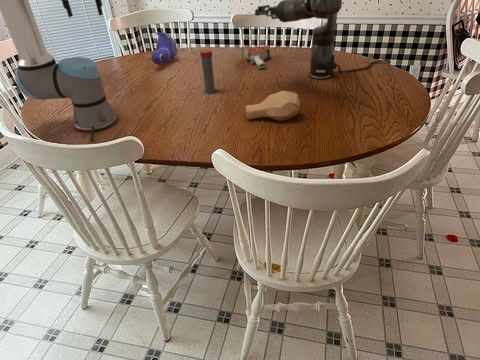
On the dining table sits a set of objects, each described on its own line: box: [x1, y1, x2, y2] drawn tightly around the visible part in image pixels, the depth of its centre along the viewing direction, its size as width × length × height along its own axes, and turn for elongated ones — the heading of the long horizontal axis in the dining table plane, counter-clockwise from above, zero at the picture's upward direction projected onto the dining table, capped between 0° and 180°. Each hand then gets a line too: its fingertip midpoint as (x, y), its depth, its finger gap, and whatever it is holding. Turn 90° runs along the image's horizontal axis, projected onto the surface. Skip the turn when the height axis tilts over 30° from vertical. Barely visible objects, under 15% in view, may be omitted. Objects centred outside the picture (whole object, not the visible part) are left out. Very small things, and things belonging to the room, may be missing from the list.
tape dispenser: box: [243, 45, 270, 70], centre depth 179 cm, size 18×5×20 cm
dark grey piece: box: [200, 56, 216, 94], centre depth 148 cm, size 4×4×16 cm
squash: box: [244, 90, 301, 122], centre depth 127 cm, size 11×20×9 cm, turn 92°
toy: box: [150, 31, 178, 69], centre depth 181 cm, size 10×17×25 cm
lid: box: [199, 48, 213, 58], centre depth 143 cm, size 5×5×2 cm
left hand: (85, 15), depth 157 cm, fingers open, 13 cm apart
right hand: (264, 14), depth 143 cm, fingers open, 8 cm apart
